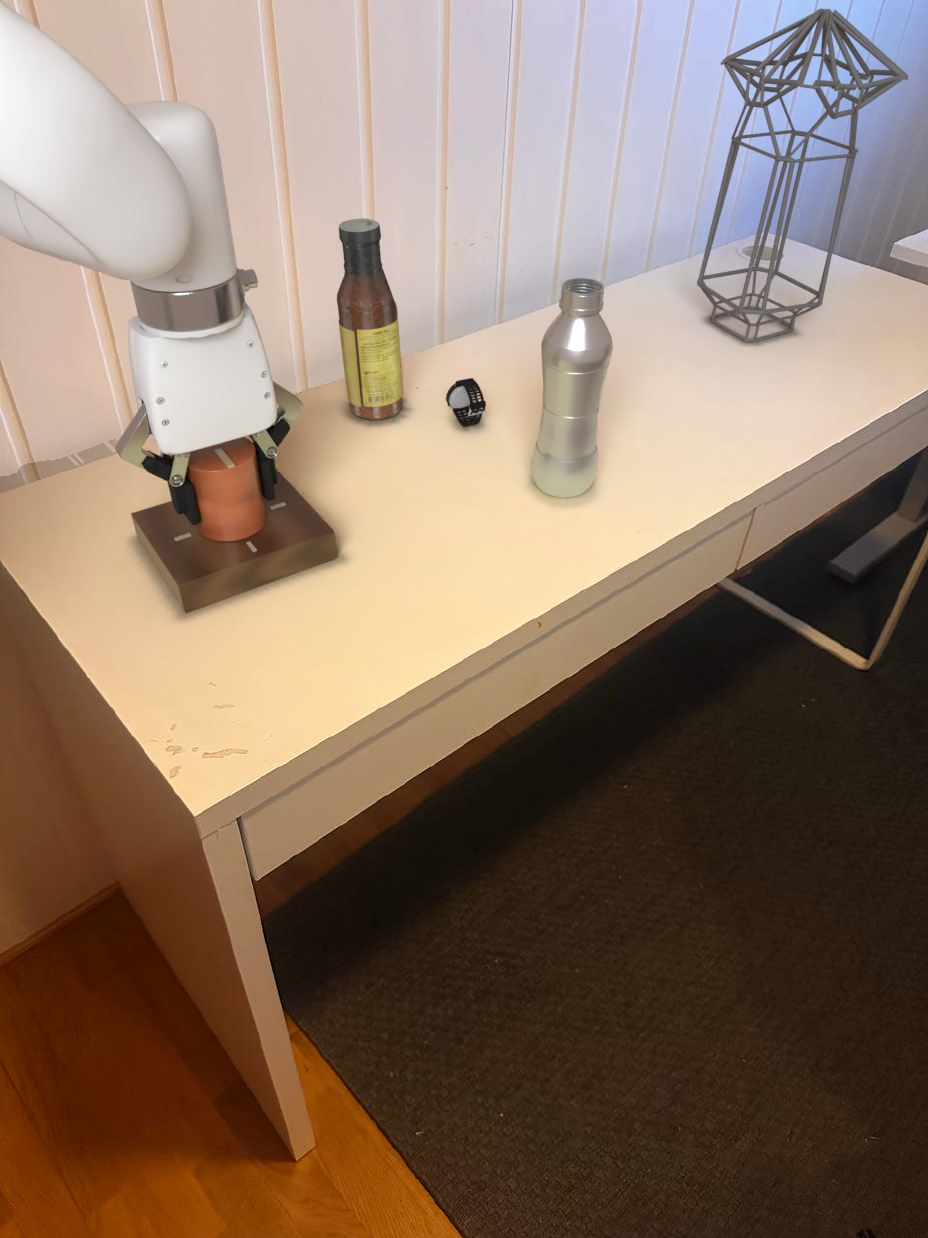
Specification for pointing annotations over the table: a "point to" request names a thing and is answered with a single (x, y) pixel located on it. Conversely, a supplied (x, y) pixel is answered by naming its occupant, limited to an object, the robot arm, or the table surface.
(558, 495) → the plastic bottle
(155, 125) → the robot arm
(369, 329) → the sauce bottle
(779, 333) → the geometric lantern
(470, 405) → the smartwatch
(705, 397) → the table surface
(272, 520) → the dial base plate
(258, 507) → the rotary dial knob
